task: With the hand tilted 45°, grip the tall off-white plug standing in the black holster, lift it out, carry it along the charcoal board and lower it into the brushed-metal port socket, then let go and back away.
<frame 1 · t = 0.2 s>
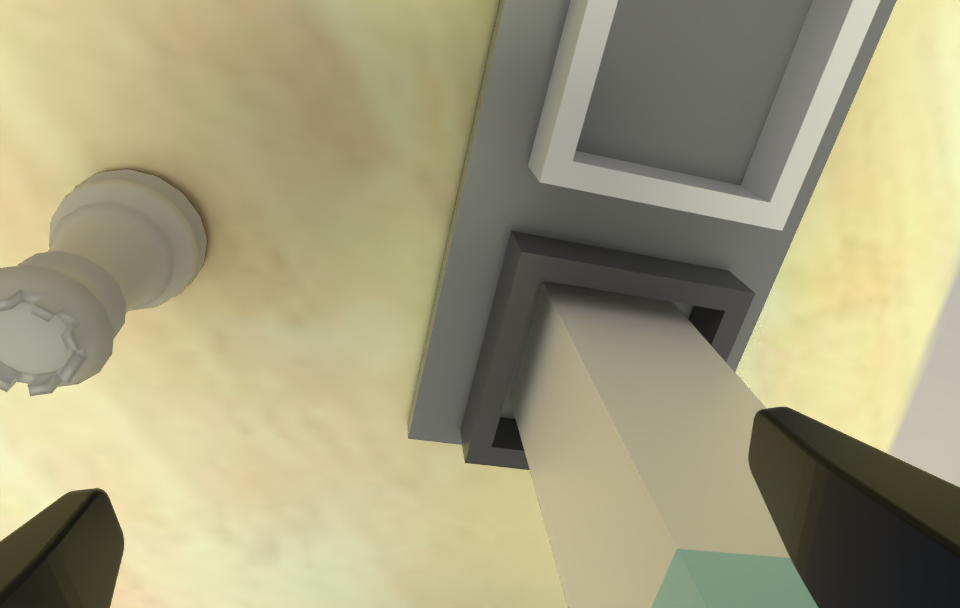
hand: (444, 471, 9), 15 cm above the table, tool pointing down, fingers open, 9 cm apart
plug: (590, 352, 25), point 1 cm above the table, touching board
board: (624, 212, 24), on the table
rook chess piece: (142, 230, 23), on the table
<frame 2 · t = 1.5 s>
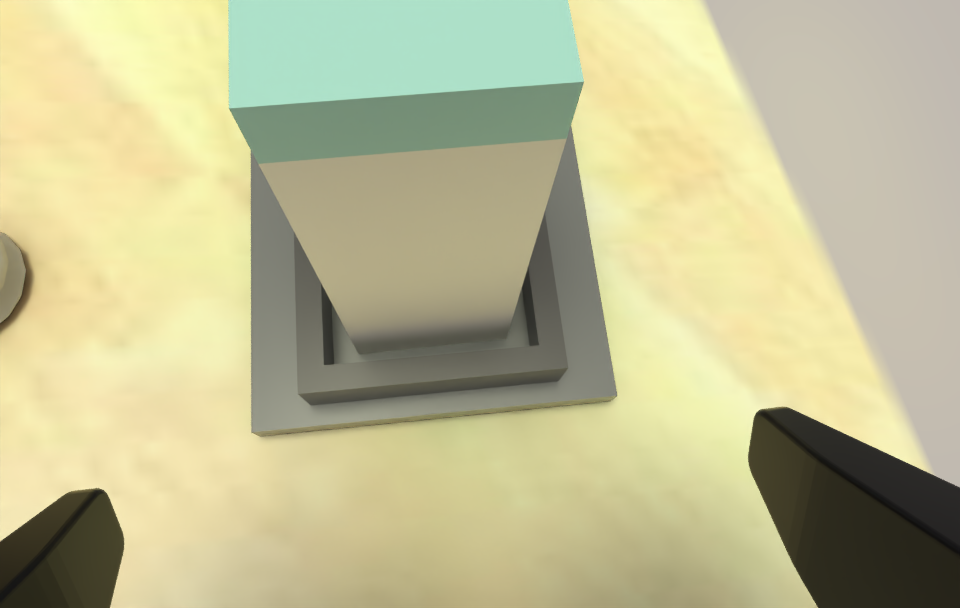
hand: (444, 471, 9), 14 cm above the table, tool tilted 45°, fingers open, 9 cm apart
plug: (426, 277, 24), point 1 cm above the table, touching board
board: (415, 160, 26), on the table
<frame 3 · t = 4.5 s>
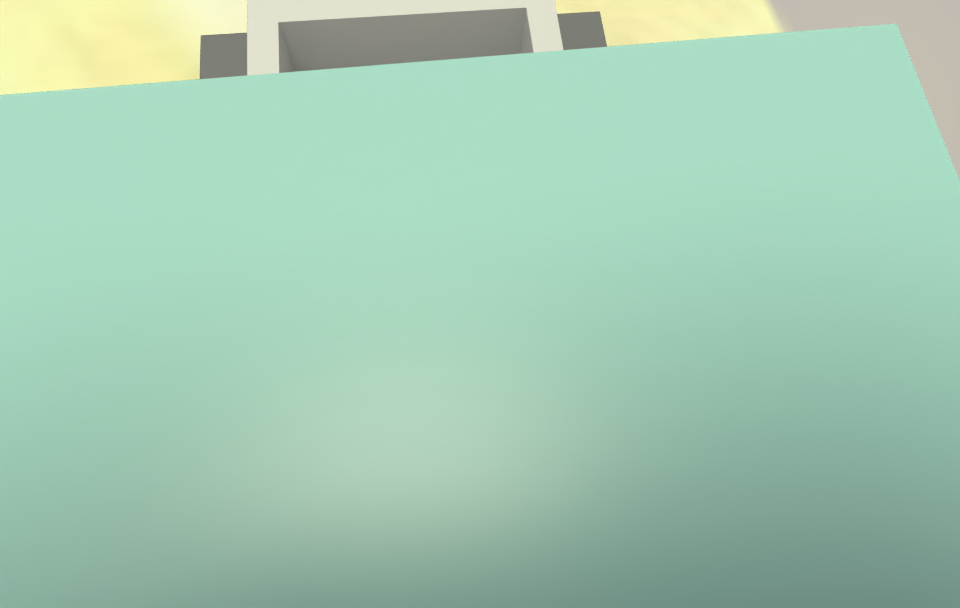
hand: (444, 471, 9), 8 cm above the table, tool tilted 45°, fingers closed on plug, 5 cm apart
plug: (453, 559, 15), point 1 cm above the table, touching board, gripper
board: (434, 351, 18), on the table
when the fingers open (9 cm above the table, at t = 8.8 s): plug stays where it is, resting on board.
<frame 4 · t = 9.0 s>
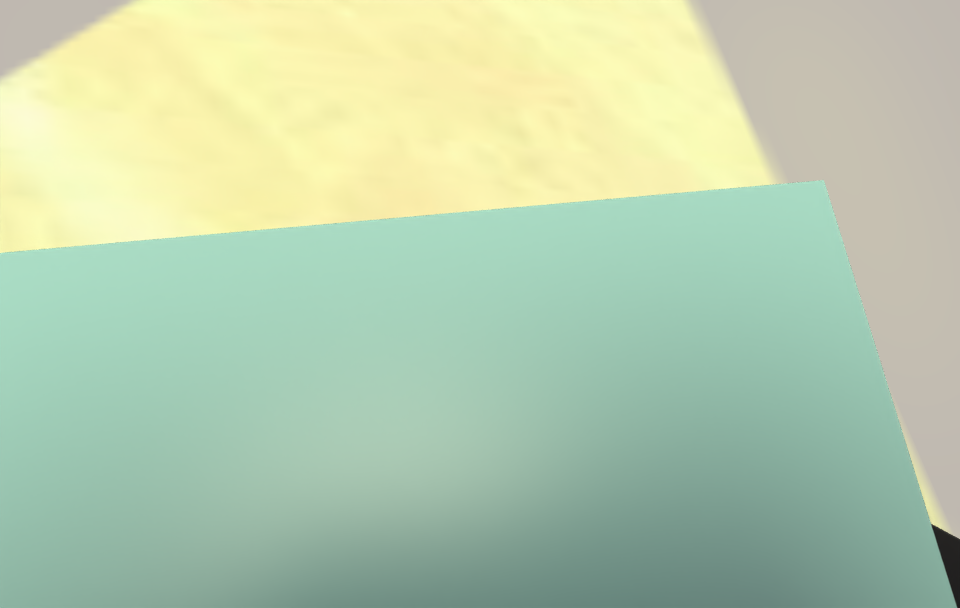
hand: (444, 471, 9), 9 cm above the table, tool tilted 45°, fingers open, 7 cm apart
plug: (452, 562, 16), point 1 cm above the table, touching board
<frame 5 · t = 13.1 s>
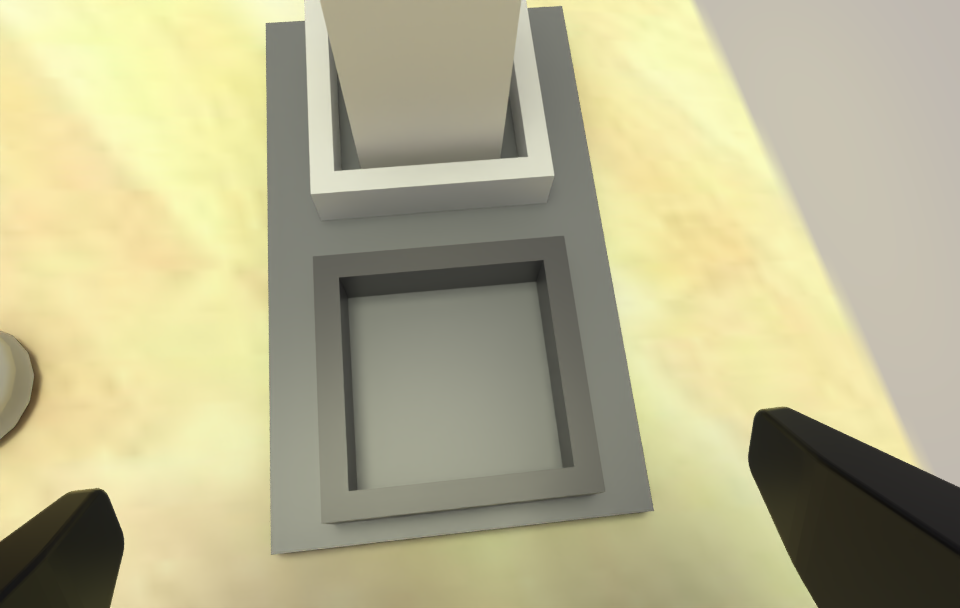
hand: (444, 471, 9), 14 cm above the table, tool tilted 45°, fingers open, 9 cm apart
plug: (425, 117, 26), point 1 cm above the table, touching board
board: (438, 250, 25), on the table
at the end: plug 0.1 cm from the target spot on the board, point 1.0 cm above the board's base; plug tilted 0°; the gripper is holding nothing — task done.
